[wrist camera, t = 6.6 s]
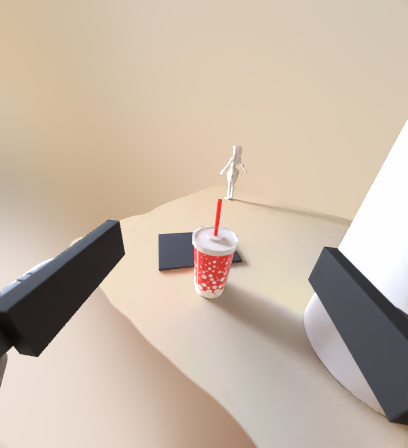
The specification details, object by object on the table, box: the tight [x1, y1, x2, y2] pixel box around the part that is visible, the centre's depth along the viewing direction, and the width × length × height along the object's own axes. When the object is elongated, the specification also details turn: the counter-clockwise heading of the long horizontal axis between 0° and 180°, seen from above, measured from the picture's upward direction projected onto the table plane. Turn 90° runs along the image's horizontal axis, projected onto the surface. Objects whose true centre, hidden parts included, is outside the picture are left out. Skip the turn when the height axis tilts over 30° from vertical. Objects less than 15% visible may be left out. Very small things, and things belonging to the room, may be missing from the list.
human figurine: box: [220, 146, 247, 199], centre depth 59 cm, size 12×4×18 cm, turn 124°
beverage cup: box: [192, 199, 239, 298], centre depth 23 cm, size 6×6×14 cm
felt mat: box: [159, 232, 242, 271], centre depth 35 cm, size 11×15×1 cm
